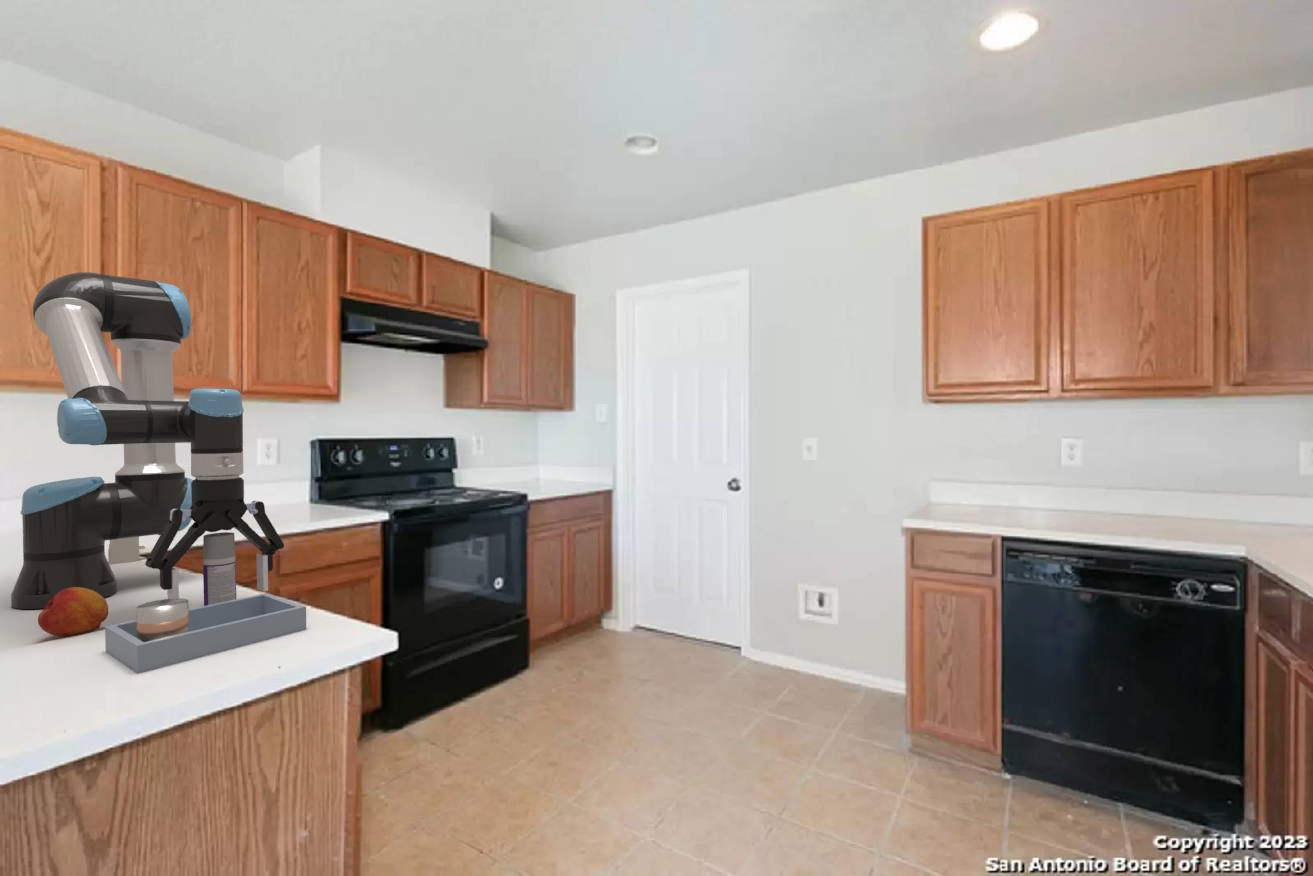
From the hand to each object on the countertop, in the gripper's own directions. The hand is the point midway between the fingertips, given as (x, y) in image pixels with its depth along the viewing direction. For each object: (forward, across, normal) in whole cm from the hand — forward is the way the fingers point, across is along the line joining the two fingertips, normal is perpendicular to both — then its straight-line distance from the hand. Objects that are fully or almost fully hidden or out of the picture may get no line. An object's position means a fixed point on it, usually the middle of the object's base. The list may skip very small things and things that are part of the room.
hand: (220, 598), depth 110 cm
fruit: (+4, -17, +10) cm, 20 cm away
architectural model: (+4, +5, +72) cm, 72 cm away
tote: (+4, -6, -13) cm, 15 cm away
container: (+4, 0, 0) cm, 4 cm away
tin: (+3, -12, -13) cm, 18 cm away
